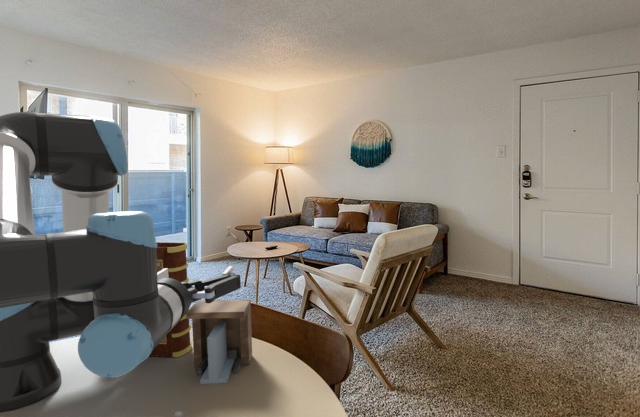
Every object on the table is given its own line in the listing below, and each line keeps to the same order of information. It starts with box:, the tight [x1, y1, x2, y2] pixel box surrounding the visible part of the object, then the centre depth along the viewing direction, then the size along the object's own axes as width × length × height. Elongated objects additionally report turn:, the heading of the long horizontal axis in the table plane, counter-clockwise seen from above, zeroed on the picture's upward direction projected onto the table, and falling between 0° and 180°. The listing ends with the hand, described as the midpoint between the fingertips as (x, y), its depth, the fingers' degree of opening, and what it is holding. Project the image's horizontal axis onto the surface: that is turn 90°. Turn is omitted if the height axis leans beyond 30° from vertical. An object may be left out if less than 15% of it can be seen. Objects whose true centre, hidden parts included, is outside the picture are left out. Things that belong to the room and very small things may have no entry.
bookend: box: [200, 322, 236, 385], centre depth 93 cm, size 6×10×11 cm, turn 1°
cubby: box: [186, 299, 253, 375], centre depth 97 cm, size 14×9×16 cm, turn 91°
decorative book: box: [148, 241, 193, 358], centre depth 105 cm, size 22×8×30 cm, turn 83°
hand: (199, 273), depth 80 cm, fingers open, 13 cm apart
